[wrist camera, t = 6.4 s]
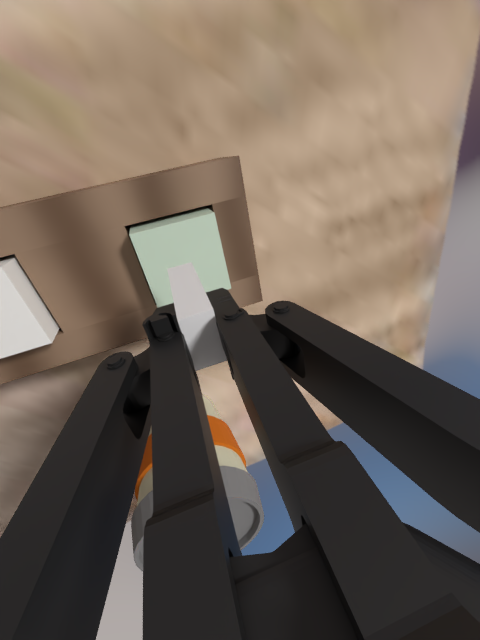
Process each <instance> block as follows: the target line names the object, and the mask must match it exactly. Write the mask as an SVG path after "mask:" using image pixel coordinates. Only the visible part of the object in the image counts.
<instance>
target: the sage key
mask: <svg viewBox="0 0 480 640" xmlns="http://www.w3.org/2000/svg"><path fill="white" fill-rule="evenodd" d="M129 236H130V238H131V241H132V243H133V246H134V248H135V251H136V253H137V256H138V259H139V261H140V264H141V266H142V269H143V271H144V274H145V276H146V279H147V281H148V284H149V287H150V289H151V292H152V294H153V297H154V299H155V302H156V304H157V307H161V306H165V305H168V304H171V303H174V301H173V296H172V291H171V286H170V281H169V276H168V271H167V269H168V268H172V267H175V266H179V265H182V264H186V263H190V262H192V264H193V266H194V268H195V271H196V273H197V275H198V277H199V279H200V281H201V284H202V286H203V288H204V290H205V292H209V291H213V290H216V289H219V288H224V289H226V290H229V289H231V284H230V280H229V275H228V271H227V266H226V262H225V257H224V253H223V248H222V244H221V239H220V235H219V231H218V226H217V222H216V217H215V213H214V212H213V211H211V210H210V209H208V208H207V207H205V206H203V207H199V208H195V209H191V210H187V211H183V212H179V213H175V214H171V215H167V216H163V217H159V218H155V219H151V220H147V221H143V222H139V223H135V224H131V227H130V233H129Z"/></svg>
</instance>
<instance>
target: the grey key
mask: <svg viewBox="0 0 480 640" xmlns="http://www.w3.org/2000/svg"><path fill="white" fill-rule="evenodd" d="M59 329H60V326H59V324H58V323H57V321H56V320H55V318H54V316H53V315H52V313H51V312H50V310H49V308H48V307H47V305H46V304H45V302H44V301H43V299H42V297H41V296H40V294H39V293H38V291H37V289H36V288H35V286H34V285H33V283H32V281H31V280H30V278H29V277H28V275H27V273H26V272H25V270H24V269H23V267H22V265H21V264H20V262H19V261H18V259H17V258H16V256H15V254H12V255H8V256H4V257H0V359H1V358H5V357H8V356H11V355H14V354H18V353H21V352H24V351H27V350H31V349H34V348H37V347H41V346H44V345H47V344H50V343H52V342H53V340H54V338H55V336H56V334H57V332H58V330H59Z"/></svg>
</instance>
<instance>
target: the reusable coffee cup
mask: <svg viewBox="0 0 480 640" xmlns="http://www.w3.org/2000/svg"><path fill="white" fill-rule="evenodd" d="M202 397H203V401H204V405H205V409H206V413H207V417H208V421H209V425H210V429H211V433H212V437H213V442H214V446H215V450H216V454H217V458H218V462H219V466H220V470H221V474H222V478H223V482H224V486H225V491H226V495H227V499H228V503H229V507H230V511H231V515H232V519H233V523H234V527H235V531H236V535H237V539H238V543H239V547H240V550H242V549H243V548H244V547H246V546H247V545H248V544H249V543H250V542H251V541H252V540H253V539H254V538H255V536H256V535H257V534H258V532H259V531H260V529H261V527H262V524H263V521H264V513H263V509H262V505H261V500H260V496H259V492H258V488H257V485H256V482H255V479H254V478H253V477H252V476H251V475H250V474H249V473H248V472H247V470H246V461H245V458H244V455H243V453H242V451H241V450H240V448H239V446H238V444H237V442H236V440H235V438H234V436H233V434H232V432H231V430H230V428H229V427H228V426H227V424H226V423H225V422H223V421H222V420H221V418H220V416H219V414H218V412H217V410H216V408H215V406H214V404H213V402H212V401H211V399H209V398H208V397H207V396H205V395H203V394H202ZM135 496H136V499H137V507H136V509H135V510H134V513H133V516H132V521H131V522H132V524H131V527H132V540H133V553H134V561H135V563H136V565H137V567H138V568H139V569H141V570H142V571H143V539H144V527H145V524H146V521H147V520H148V519H149V518H151V517H152V514H153V475H152V430H151V428H150V432H149V436H148V440H147V444H146V448H145V452H144V455H143V459H142V463H141V467H140V471H139V475H138V478H137V482H136V486H135Z"/></svg>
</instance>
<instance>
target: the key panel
mask: <svg viewBox="0 0 480 640" xmlns="http://www.w3.org/2000/svg"><path fill="white" fill-rule="evenodd" d="M203 206H205V207H207V208H208V209H210V210H211V211H213V212H214V213H215V217H216V222H217V226H218V231H219V235H220V239H221V244H222V248H223V253H224V257H225V262H226V266H227V271H228V275H229V280H230V284H231V289H229V290H228V291H229V293H230V294H231V296H232V297H233V299H234V300H235V302H236V303H237V305H238V306H239V308H241V307H245V306H248V305H251V304H254V303H257V302H260V301H263V300H262V294H261V288H260V281H259V275H258V269H257V263H256V257H255V251H254V245H253V238H252V232H251V226H250V220H249V214H248V208H247V202H246V196H245V189H244V183H243V177H242V171H241V165H240V159H239V156H233V157H223V158H217V159H212V160H208V161H204V162H199V163H195V164H190V165H186V166H181V167H177V168H173V169H168V170H164V171H159V172H155V173H150V174H146V175H142V176H137V177H133V178H128V179H124V180H119V181H115V182H110V183H106V184H102V185H97V186H93V187H88V188H84V189H79V190H75V191H71V192H66V193H62V194H57V195H53V196H48V197H44V198H40V199H35V200H31V201H26V202H22V203H17V204H13V205H9V206H4V207H0V257H4V256H8V255H12V254H15V256H16V258H17V259H18V261H19V262H20V264H21V265H22V267H23V269H24V270H25V272H26V273H27V275H28V277H29V278H30V280H31V281H32V283H33V285H34V286H35V288H36V289H37V291H38V293H39V294H40V296H41V297H42V299H43V301H44V302H45V304H46V305H47V307H48V308H49V310H50V312H51V313H52V315H53V316H54V318H55V320H56V321H57V323H58V324H59V326H60V329H59V330H58V332H57V334H56V336H55V338H54V340H53V342H52V343H50V344H47V345H44V346H41V347H37V348H34V349H31V350H27V351H24V352H21V353H18V354H14V355H11V356H8V357H5V358H1V359H0V384H3V383H6V382H10V381H13V380H16V379H19V378H22V377H25V376H28V375H31V374H35V373H38V372H41V371H44V370H47V369H50V368H53V367H57V366H60V365H63V364H66V363H69V362H72V361H75V360H78V359H82V358H85V357H88V356H91V355H94V354H97V353H100V352H104V351H107V350H110V349H113V348H116V347H119V346H122V345H125V344H129V343H132V342H135V341H138V340H141V339H144V338H147V335H146V332H145V330H144V328H143V326H142V324H143V321H144V320H145V319H146V318H148V317H149V316H151V315H153V313H154V311H155V310H156V308H158V307H157V304H156V302H155V299H154V297H153V294H152V292H151V289H150V287H149V284H148V281H147V279H146V276H145V274H144V271H143V269H142V266H141V264H140V261H139V259H138V256H137V253H136V251H135V248H134V246H133V243H132V241H131V238H130V236H129V233H130V227H131V224H135V223H139V222H143V221H147V220H151V219H155V218H159V217H163V216H167V215H171V214H175V213H179V212H183V211H187V210H191V209H195V208H199V207H203Z"/></svg>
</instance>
